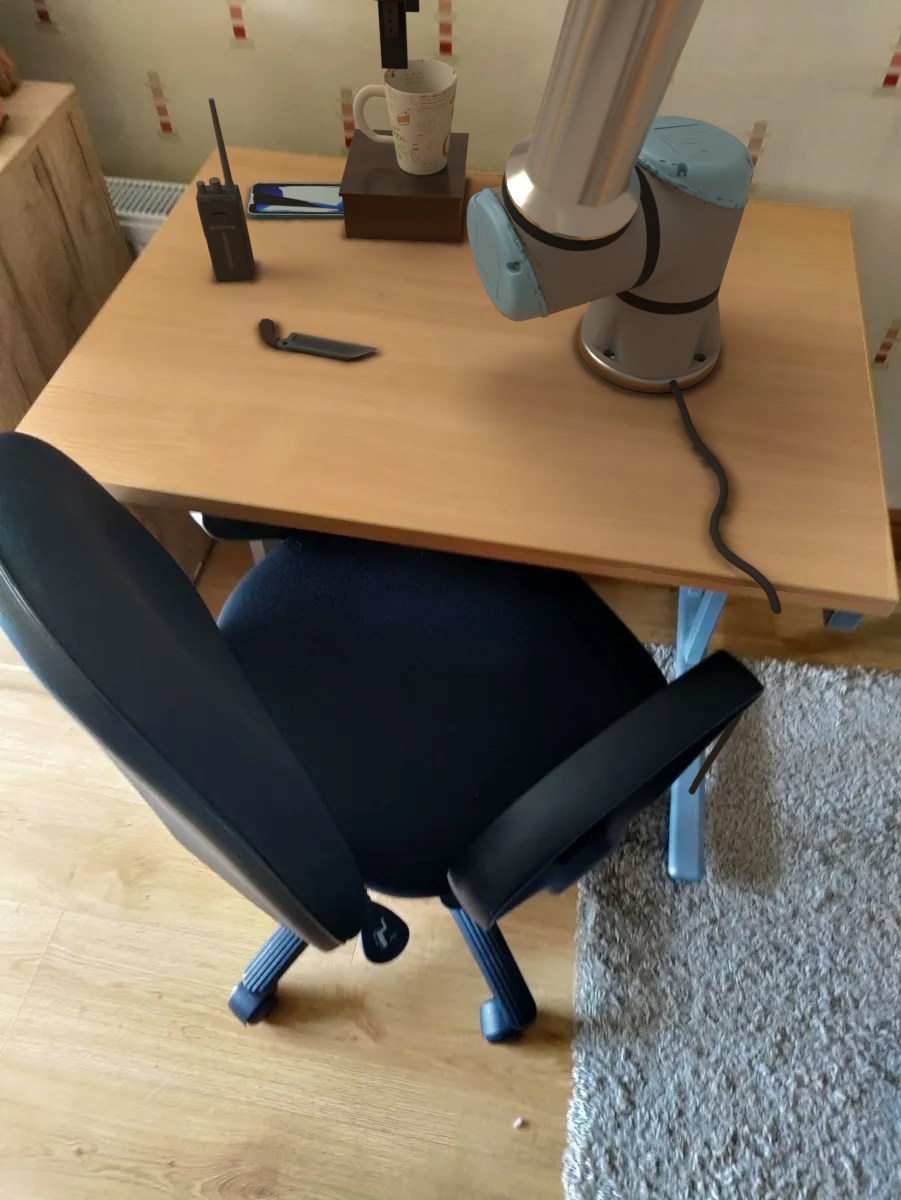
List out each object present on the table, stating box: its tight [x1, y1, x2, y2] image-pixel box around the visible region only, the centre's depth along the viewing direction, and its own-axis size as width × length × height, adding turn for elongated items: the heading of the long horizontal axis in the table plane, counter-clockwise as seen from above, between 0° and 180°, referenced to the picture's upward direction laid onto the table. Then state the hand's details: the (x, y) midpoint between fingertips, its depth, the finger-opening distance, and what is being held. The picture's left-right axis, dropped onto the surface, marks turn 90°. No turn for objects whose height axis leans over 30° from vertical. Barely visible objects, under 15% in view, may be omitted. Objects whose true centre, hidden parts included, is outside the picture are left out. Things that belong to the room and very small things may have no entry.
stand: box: [339, 128, 470, 243], centre depth 110 cm, size 15×15×6 cm
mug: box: [352, 58, 458, 175], centre depth 104 cm, size 8×13×10 cm, turn 79°
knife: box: [258, 318, 378, 360], centre depth 97 cm, size 14×4×1 cm, turn 74°
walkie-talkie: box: [195, 97, 255, 282], centre depth 97 cm, size 5×3×20 cm
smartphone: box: [246, 181, 344, 220], centre depth 113 cm, size 7×1×15 cm
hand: (401, 38), depth 96 cm, fingers open, 13 cm apart
